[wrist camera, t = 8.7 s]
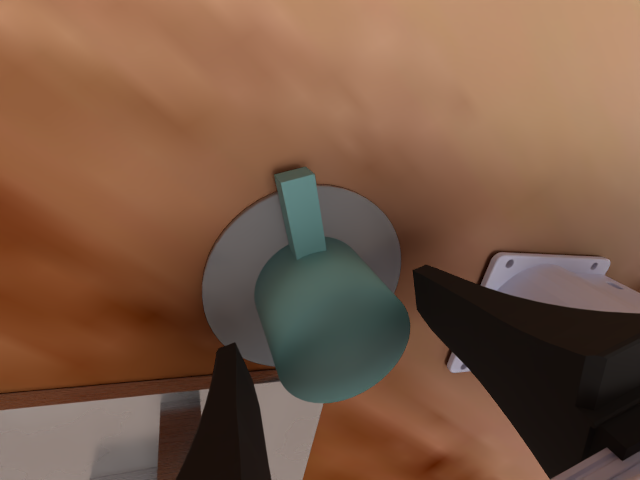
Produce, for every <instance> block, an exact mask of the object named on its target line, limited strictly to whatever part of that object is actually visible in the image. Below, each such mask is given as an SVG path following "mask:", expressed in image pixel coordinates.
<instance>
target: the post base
mask: <svg viewBox="0 0 640 480" xmlns="http://www.w3.org/2000/svg"><path fill="white" fill-rule="evenodd" d="M249 373H250V375H251V378H252V380H253V383H254V387H255V391H256V394H257V398H258V402H259V405H260V411H261V418H262V424H263V430H264V437H265V443H266V450H267V456H268V463H269V469H270V474H271V479H272V480H302V479H303V476H304V472H305V468H306V465H307V461H308V457H309V454H310V450H311V447H312V443H313V439H314V436H315V432H316V428H317V425H318V421H319V417H320V414H321V410H322V407H323V403H312V402H307V401H304V400H301V399H299V398H297V397H294V396H293V395H292V394H290V393H289V392H288V391H287V390H286V389H285V388H284V386H283V385H282V383H281V381H280V379H279V376H278V374H277V370H265V371H253V372H249ZM211 380H212V375H209V376H198V377H186V378H175V379H164V380H153V381H142V382H131V383H119V384H108V385H97V386H86V387H75V388H64V389H52V390H41V391H30V392H19V393H8V394H0V480H175V479H176V477H177V475H178V473H179V471H180V469H181V467H182V464H183V462H184V460H185V458H186V456H187V453H188V451H189V448H190V446H191V444H192V441H193V438H194V436H195V433H196V430H197V428H198V425H199V422H200V419H201V415H202V412H203V409H204V406H205V403H206V399H207V395H208V392H209V388H210V384H211Z"/></svg>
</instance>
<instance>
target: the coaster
mask: <svg viewBox="0 0 640 480" xmlns="http://www.w3.org/2000/svg"><path fill="white" fill-rule="evenodd" d="M316 186H317V193H318V199H319V205H320V211H321V218H322V224H323V230H324V236H325V237H331V238H335V239H338V240H340V241H342V242H344V243H346V244H347V245H349V246H350V247H351V248H352V249H353V250H354V251H355V252H356V253H357V254H358V255H359V256H360V258H361V259H362V260H363V261H364V262H365V263H366V264H367V265H368V266H369V267H370V268H371V270H372V271H373V272H374V273H375V274H376V275H377V276H378V277H379V278H380V279H381V280H382V282H383V283H384V284H385V285H386V286H387V287H388V288H389V289H390V290H391V291H392V292H393V294H394V292H395V290H396V287H397V284H398V280H399V276H400V269H401V251H400V244H399V241H398V237H397V234H396V232H395V230H394V228H393V226H392V224H391V222H390V221H389V219H388V218H387V216H386V215H385V214H384V213H383V212H382V211H381V210H380V209H379V208H378V207H377V206H376V205H374V204H373V203H372V202H370V201H369V200H368V199H366V198H365V197H364V196H362V195H360V194H358V193H356V192H354V191H351V190H348V189H345V188H343V187H338V186H333V185H324V184H316ZM287 245H289V242H288V237H287V233H286V228H285V223H284V219H283V214H282V209H281V205H280V200H279V195H278V192H275V193H272V194H270V195H268V196H266V197H264V198H262V199H260V200H258V201H256V202H255V203H253V204H252V205H250V206H249V207H247V208H246V209H245V210H243V211H242V212H241V213H240V214H239V215H238V216H236V217H235V218H234V219H233V220H232V221H231V222H230V224H229V225H228V226H227V227H226V228H225V229H224V230H223V232H222V233H221V235H220V236H219V237H218V239H217V240H216V242H215V244H214V246H213V248H212V250H211V252H210V254H209V256H208V259H207V262H206V265H205V268H204V273H203V279H202V299H203V306H204V312H205V315H206V318H207V321H208V323H209V325H210V327H211V329H212V331H213V333H214V334H215V335H216V337H217V338H218V339H219V340H220V342H221V343H222V344H224V345H225V346H226V345H229V344H231V343H234V342H235V343H236V345H237V347H238V349H239V352H240V354H241V356H242V358H244V359H246V360H249V361H252V362H255V363H258V364H263V365H268V366H275V364H274V361H273V358H272V355H271V352H270V349H269V346H268V343H267V339H266V336H265V333H264V330H263V327H262V324H261V321H260V318H259V315H258V312H257V309H256V305H255V299H254V292H255V285H256V282H257V279H258V276H259V274H260V272H261V270H262V269H263V267H264V266H265V264H266V263H267V262H268V260H269V259H270V258H271V257H272V256H273V255H274V254H275V253H277V252H278V251H279V250H280V249H282V248H284V247H285V246H287Z"/></svg>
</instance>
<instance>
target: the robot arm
mask: <svg viewBox="0 0 640 480" xmlns="http://www.w3.org/2000/svg"><path fill="white" fill-rule="evenodd" d="M609 266H610V260H609V259H607V258H605V257H594V256H573V255H551V254H530V253H509V252H500V253H497V254H495V255H494V256H493V257H492V259H491V261H490V264H489V266H488V268H487V271H486V273H485V275H484V278H483V280H482V283H481V285H478V284H475V283H473V282H470V281H467V280H465V279H462V278H459V277H457V276H454V275H452V274H449V273H447V272H444V271H442V270H439V269H437V268H434V267H431V266H428V265H424V266H422V267H420V268H417V269H415V270H413V277H414V287H415V296H416V306H417V310H418V312H419V313H420V315H421V316H422V318H423V319H424V320H425V322H426V323H427V324H428V326H429V327H430V328H431V330H432V331H433V332H434V333H435V334H436V335H437V336H438V337H439V338H440V339H441V341H442V342H443V343H444V344H445V345H446V346H447V347H448V348H449V349H450V350H451V351H452V354H451V356H450V358H449V361H448V363H447V368H448V369H449V370H450V371H451V372H452V373H458V372H467V371H471V372H472V373H473V374H474V375H475V377H476V378H477V379H478V380H479V381H480V382H481V384H482V385H483V386H484V388H485V389H486V390H487V391H488V393H489V394H490V395H491V397H492V398H493V399H494V400H495V402H496V403H497V404H498V406H499V407H500V408H501V410H502V411H503V412H504V414H505V415H506V417H507V418H508V419H509V421H510V422H511V423H512V425H513V426H514V427H515V429H516V430H517V432H518V433H519V435H520V436H521V437H522V439H523V440H524V442H525V443H526V445H527V446H528V447H529V449H530V450H531V452H532V453H533V455H534V456H535V458H536V459H537V461H538V462H539V464H540V465H541V467H542V468H543V470H544V471H545V473H546V474H547V476H548V477H549V479H550V480H640V293H639V292H637V291H635V290H633V289H631V288H629V287H627V286H625V285H623V284H621V283H619V282H617V281H615V280H613V279H611V278H609V277H607V276H605V273H606V272H607V270H608V268H609ZM175 480H272V479H271V474H270V469H269V463H268V456H267V450H266V443H265V437H264V430H263V424H262V418H261V411H260V405H259V402H258V398H257V394H256V391H255V387H254V383H253V380H252V378H251V375H250V373H249V371H248V369H247V367H246V365H245V362H244V360H243V358H242V356H241V354H240V352H239V349H238V347H237V345H236V343H235V342H234V343H231V344H229V345H226V346H224V347H221V348H219V349H218V350H217V352H216V360H215V365H214V371H213V375H212V380H211V384H210V388H209V392H208V395H207V399H206V403H205V406H204V409H203V412H202V415H201V419H200V422H199V425H198V428H197V430H196V433H195V436H194V438H193V441H192V444H191V446H190V448H189V451H188V453H187V456H186V458H185V460H184V462H183V464H182V467H181V469H180V471H179V473H178V475H177V477H176V479H175Z"/></svg>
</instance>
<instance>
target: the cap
mask: <svg viewBox="0 0 640 480" xmlns="http://www.w3.org/2000/svg"><path fill="white" fill-rule="evenodd" d="M274 177H275V181H276V186H277V191H278V195H279V200H280V205H281V209H282V214H283V219H284V223H285V228H286V233H287V237H288V242H289V245H287V246H285V247H284V248H282V249H280V250H279V251H278V252H277V253H275V254H274V255H273V256H272V257H271V258H270V259H269V260H268V262H267V263H266V264H265V266H264V267H263V269H262V270H261V272H260V274H259V276H258V279H257V282H256V285H255V292H254V299H255V305H256V309H257V312H258V315H259V318H260V321H261V324H262V327H263V330H264V333H265V336H266V339H267V343H268V346H269V349H270V352H271V355H272V358H273V361H274V364H275V367H276V370H277V374H278V376H279V379H280V381H281V383H282V385H283V386H284V388H285V389H286V390H287V391H288V392H289V393H290V394H292V395H293V396H294V397H297V398H299V399H301V400H304V401H307V402H312V403H332V402H338V401H342V400H345V399H348V398H351V397H354V396H356V395H358V394H360V393H362V392H364V391H366V390H368V389H369V388H371V387H372V386H374V385H375V384H377V383H378V382H379V381H380V380H382V379H383V378H384V377H385V376H386V375H387V374H388V373H389V372H390V371H391V370H392V369H393V367H394V366H395V365H396V363H397V362H398V361H399V359H400V358H401V356H402V354H403V352H404V350H405V348H406V345H407V342H408V339H409V334H410V320H409V316H408V312H407V310H406V308H405V306H404V305H403V304H402V302H401V301H400V300H399V299H398V298H397V297H396V296H395V295H394V294H393V292H392V291H391V290H390V289H389V288H388V287H387V286H386V285H385V284H384V283H383V282H382V280H381V279H380V278H379V277H378V276H377V275H376V274H375V273H374V272H373V271H372V270H371V268H370V267H369V266H368V265H367V264H366V263H365V262H364V261H363V260H362V259H361V258H360V256H359V255H358V254H357V253H356V252H355V251H354V250H353V249H352V248H351V247H350V246H349V245H347V244H346V243H344V242H342V241H340V240H338V239H335V238H331V237H325V236H324V230H323V224H322V218H321V211H320V205H319V199H318V193H317V186H316V180H315V174H314V173H313V172H312V171H310V170H309V169H308V168H307V167H302V168H298V169H294V170H290V171H286V172H282V173H278V174H274Z"/></svg>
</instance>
